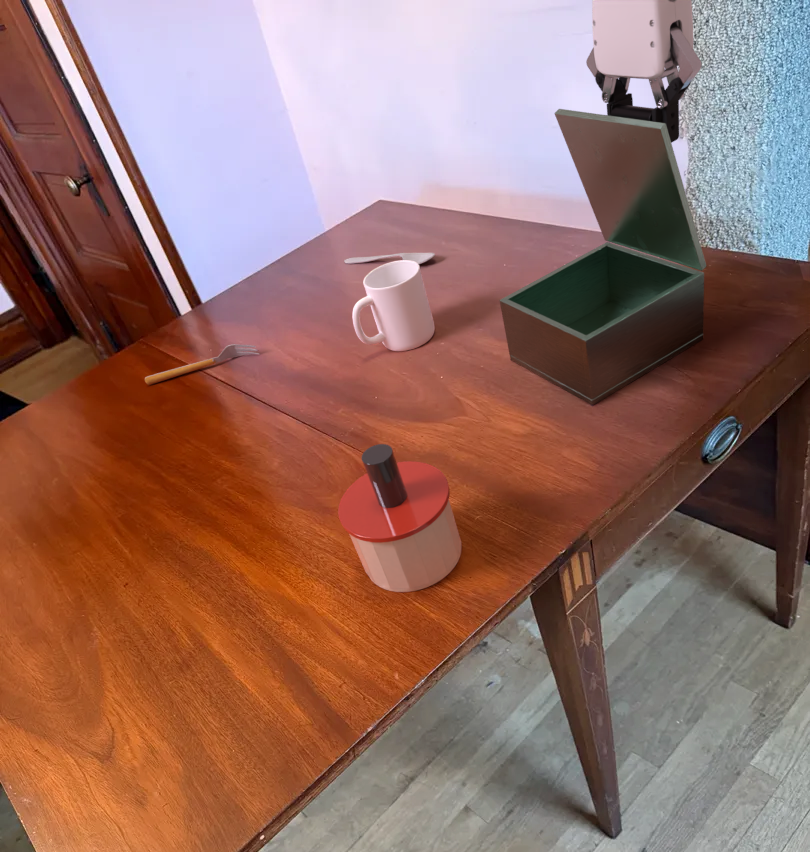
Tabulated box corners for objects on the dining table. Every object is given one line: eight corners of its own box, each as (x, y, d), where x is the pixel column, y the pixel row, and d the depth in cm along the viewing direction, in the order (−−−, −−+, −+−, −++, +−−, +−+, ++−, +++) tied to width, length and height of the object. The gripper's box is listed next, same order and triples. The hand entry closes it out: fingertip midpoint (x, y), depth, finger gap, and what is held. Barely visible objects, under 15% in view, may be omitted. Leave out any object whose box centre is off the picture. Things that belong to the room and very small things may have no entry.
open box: (592, 405, 89) (585, 340, 83) (510, 359, 100) (499, 300, 95) (703, 339, 92) (704, 272, 87) (611, 302, 104) (607, 241, 98)
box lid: (660, 128, 73) (695, 94, 73) (553, 113, 85) (584, 83, 85) (702, 271, 86) (731, 242, 86) (604, 240, 98) (630, 215, 98)
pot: (469, 518, 80) (454, 465, 75) (451, 592, 73) (434, 538, 68) (379, 521, 84) (359, 470, 79) (354, 592, 77) (331, 541, 72)
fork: (141, 380, 122) (255, 344, 119) (141, 373, 123) (254, 336, 120) (149, 391, 124) (261, 355, 121) (150, 383, 125) (261, 348, 122)
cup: (446, 332, 110) (430, 267, 104) (379, 370, 108) (358, 306, 101) (417, 317, 116) (400, 255, 109) (352, 353, 113) (331, 291, 107)
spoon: (429, 269, 128) (427, 260, 126) (338, 266, 139) (335, 258, 138) (442, 257, 130) (440, 248, 129) (351, 255, 141) (348, 247, 140)
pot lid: (460, 466, 76) (445, 413, 71) (439, 546, 68) (421, 491, 64) (358, 472, 79) (338, 422, 75) (328, 548, 72) (304, 497, 67)
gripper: (737, -81, 66) (730, 135, 78) (603, -65, 78) (615, 120, 90) (673, -53, 64) (676, 164, 76) (547, -41, 76) (566, 144, 88)
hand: (643, 138), depth 83 cm, fingers closed on box lid, 6 cm apart
